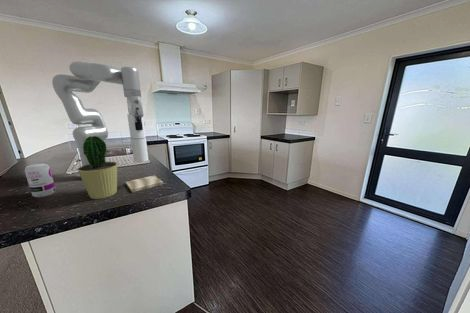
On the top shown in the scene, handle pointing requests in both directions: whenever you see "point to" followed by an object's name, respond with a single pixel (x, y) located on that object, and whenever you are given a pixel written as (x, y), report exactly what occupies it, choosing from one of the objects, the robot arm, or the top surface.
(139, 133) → the cylindrical container
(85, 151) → the potted cactus
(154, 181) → the birch board
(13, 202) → the top surface
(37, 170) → the supplement can
